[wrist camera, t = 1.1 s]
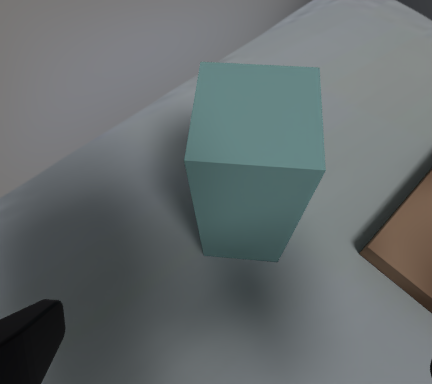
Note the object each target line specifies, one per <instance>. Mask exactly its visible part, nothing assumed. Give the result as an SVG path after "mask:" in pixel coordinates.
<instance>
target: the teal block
mask: <svg viewBox="0 0 432 384" xmlns="http://www.w3.org/2000/svg"><path fill="white" fill-rule="evenodd" d="M184 163H185V168H186V172H187V177H188V182H189V187H190V192H191V196H192V201H193V206H194V211H195V216H196V220H197V225H198V230H199V235H200V240H201V244H202V249H203V254H204V256H215V257H226V258H237V259H248V260H260V261H271V262H278V260H279V258H280V257H281V255H282V253H283V251H284V249H285V247H286V245H287V243H288V241H289V239H290V237H291V236H292V234H293V232H294V230H295V228H296V226H297V224H298V222H299V220H300V218H301V216H302V215H303V213H304V211H305V209H306V207H307V205H308V203H309V201H310V199H311V197H312V195H313V193H314V192H315V190H316V188H317V186H318V184H319V182H320V180H321V178H322V176H323V174H324V172H325V171H326V169H325V152H324V136H323V119H322V102H321V86H320V69H319V68H316V67H296V66H275V65H255V64H235V63H214V62H213V63H212V62H200V68H199V74H198V80H197V86H196V92H195V98H194V104H193V110H192V116H191V122H190V128H189V134H188V140H187V146H186V152H185V158H184Z"/></svg>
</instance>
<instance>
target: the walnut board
mask: <svg viewBox="0 0 432 384" xmlns="http://www.w3.org/2000/svg"><path fill="white" fill-rule="evenodd" d="M359 254H360V255H361V256H362V257H364V258H365V259H366V260H367V261H369V262H370V263H371V264H372V265H374V266H375V267H376V268H377V269H378V270H380V271H381V272H382V273H383V274H385V275H386V276H387V277H388V278H389V279H391V280H392V281H393V282H394V283H396V284H397V285H398V286H399V287H400V288H402V289H403V290H404V291H405V292H407V293H408V294H409V295H410V296H411V297H413V298H414V299H415V300H416V301H418V302H419V303H420V304H421V305H423V306H424V307H425V308H426V309H427V310H429V311H430V312H431V313H432V168H431V170H430V171H429V172H428V173H427V174H426V175H425V177H424V178H423V179H422V180H421V181H420V182H419V184H418V185H417V186H416V187H415V188H414V190H413V191H412V192H411V193H410V194H409V195H408V197H407V198H406V199H405V200H404V201H403V202H402V204H401V205H400V206H399V207H398V208H397V210H396V211H395V212H394V213H393V214H392V215H391V217H390V218H389V219H388V220H387V221H386V223H385V224H384V225H383V226H382V227H381V228H380V230H379V231H378V232H377V233H376V234H375V235H374V237H373V238H372V239H371V240H370V241H369V243H368V244H367V245H366V246H365V247H364V248H363V250H362V251H361V252H360V253H359Z"/></svg>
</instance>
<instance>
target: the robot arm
mask: <svg viewBox="0 0 432 384" xmlns="http://www.w3.org/2000/svg"><path fill="white" fill-rule="evenodd" d="M64 334H65V321H64V312H63V305H62V303H61V301H59V300H50V299H44V300H41V301H39V302H37V303H35V304H33V305H30V306H28V307H26V308H24V309H22V310H20V311H18V312H16V313H13V314H11V315H9V316H7V317H5V318H3V319H1V320H0V384H41V383H42V381H43V379H44V376H45V374H46V372H47V370H48V368H49V366H50V364H51V362H52V360H53V358H54V356H55V354H56V352H57V350H58V348H59V346H60V344H61V342H62V340H63V337H64ZM430 372H431V376H432V360H431V364H430Z"/></svg>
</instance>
